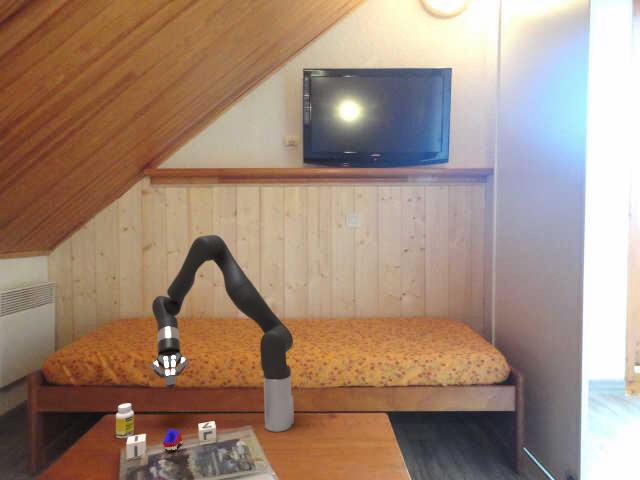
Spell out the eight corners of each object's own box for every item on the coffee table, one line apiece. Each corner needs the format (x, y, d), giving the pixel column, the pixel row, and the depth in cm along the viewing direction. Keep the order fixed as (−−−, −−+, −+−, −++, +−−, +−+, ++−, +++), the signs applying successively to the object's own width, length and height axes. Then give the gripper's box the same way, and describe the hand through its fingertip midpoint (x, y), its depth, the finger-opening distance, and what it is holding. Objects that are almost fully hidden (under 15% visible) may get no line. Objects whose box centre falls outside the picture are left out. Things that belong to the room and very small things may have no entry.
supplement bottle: (126, 439, 130) (126, 409, 130) (112, 438, 131) (111, 408, 131) (137, 431, 135) (137, 402, 136) (123, 430, 137) (122, 401, 137)
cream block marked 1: (146, 449, 123) (145, 433, 123) (145, 458, 119) (144, 440, 119) (128, 453, 122) (127, 436, 122) (126, 461, 117) (126, 444, 117)
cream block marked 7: (214, 436, 131) (214, 420, 131) (216, 443, 126) (215, 427, 126) (198, 439, 129) (198, 423, 129) (199, 446, 124) (199, 430, 124)
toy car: (166, 453, 124) (160, 436, 120) (172, 441, 127) (166, 424, 124) (178, 454, 123) (172, 436, 120) (183, 441, 127) (177, 424, 123)
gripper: (148, 338, 140) (149, 385, 129) (188, 334, 145) (192, 378, 134) (149, 350, 145) (149, 395, 133) (187, 346, 150) (191, 389, 139)
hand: (170, 387), depth 134 cm, fingers closed
